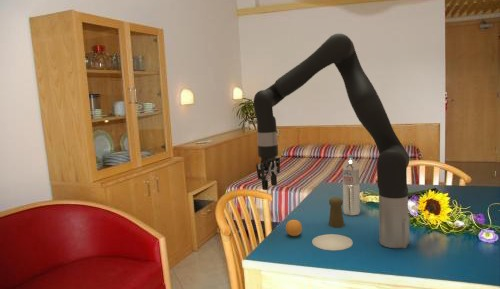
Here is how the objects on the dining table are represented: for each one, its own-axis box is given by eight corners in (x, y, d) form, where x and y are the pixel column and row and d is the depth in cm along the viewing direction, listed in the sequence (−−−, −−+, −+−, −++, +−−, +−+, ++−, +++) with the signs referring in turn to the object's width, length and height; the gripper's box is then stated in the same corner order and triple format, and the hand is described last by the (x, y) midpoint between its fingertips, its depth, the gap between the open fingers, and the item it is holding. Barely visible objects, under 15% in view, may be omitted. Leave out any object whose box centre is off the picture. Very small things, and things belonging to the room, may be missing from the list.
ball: (304, 234, 151) (304, 218, 150) (297, 239, 146) (297, 223, 145) (290, 231, 154) (290, 216, 153) (283, 237, 149) (282, 221, 148)
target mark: (358, 238, 144) (358, 238, 144) (344, 253, 132) (344, 253, 132) (321, 232, 151) (321, 231, 151) (305, 246, 140) (305, 245, 140)
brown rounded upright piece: (344, 227, 155) (343, 200, 153) (328, 227, 156) (327, 200, 154) (344, 222, 161) (343, 195, 159) (328, 221, 162) (327, 195, 160)
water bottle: (363, 214, 168) (362, 155, 164) (349, 217, 166) (348, 157, 162) (353, 209, 175) (352, 153, 171) (340, 212, 172) (338, 155, 168)
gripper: (266, 147, 142) (268, 193, 144) (285, 141, 154) (287, 183, 156) (248, 146, 146) (251, 191, 148) (268, 140, 158) (270, 182, 160)
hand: (269, 187), depth 152 cm, fingers open, 6 cm apart
